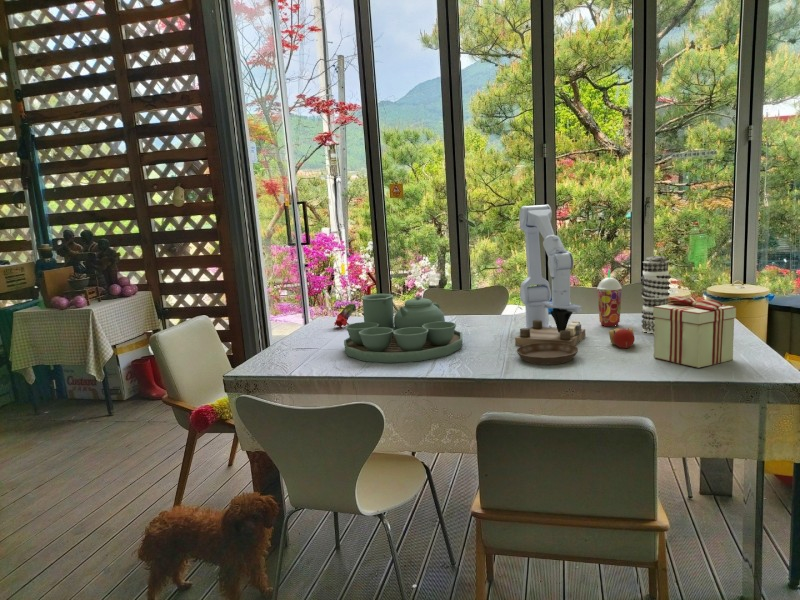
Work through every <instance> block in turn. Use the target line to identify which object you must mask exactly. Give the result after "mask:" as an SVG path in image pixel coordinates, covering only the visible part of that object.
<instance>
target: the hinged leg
mask: <svg viewBox="0 0 800 600" xmlns="http://www.w3.org/2000/svg"><path fill="white" fill-rule="evenodd" d="M577 324H581V322H580V321H577V320H576V321H571V323H569V324H568V325H567V327H566V328H565V330H569V331H570V332H571V336H574V335H575V334H576V325H577Z"/></svg>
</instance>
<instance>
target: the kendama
mask: <svg viewBox="0 0 800 600" xmlns="http://www.w3.org/2000/svg"><path fill="white" fill-rule="evenodd" d="M608 332H609V334H608V335H609V339H610V344H611V343H612V344H611V345H612V346H616V347H618V348H621V349H629V348H630V347H632V346H633V345H634V343H635V335H634V330H633V328H632V327H629V328H619V327H617V328H614V329H610V330H608Z"/></svg>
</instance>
